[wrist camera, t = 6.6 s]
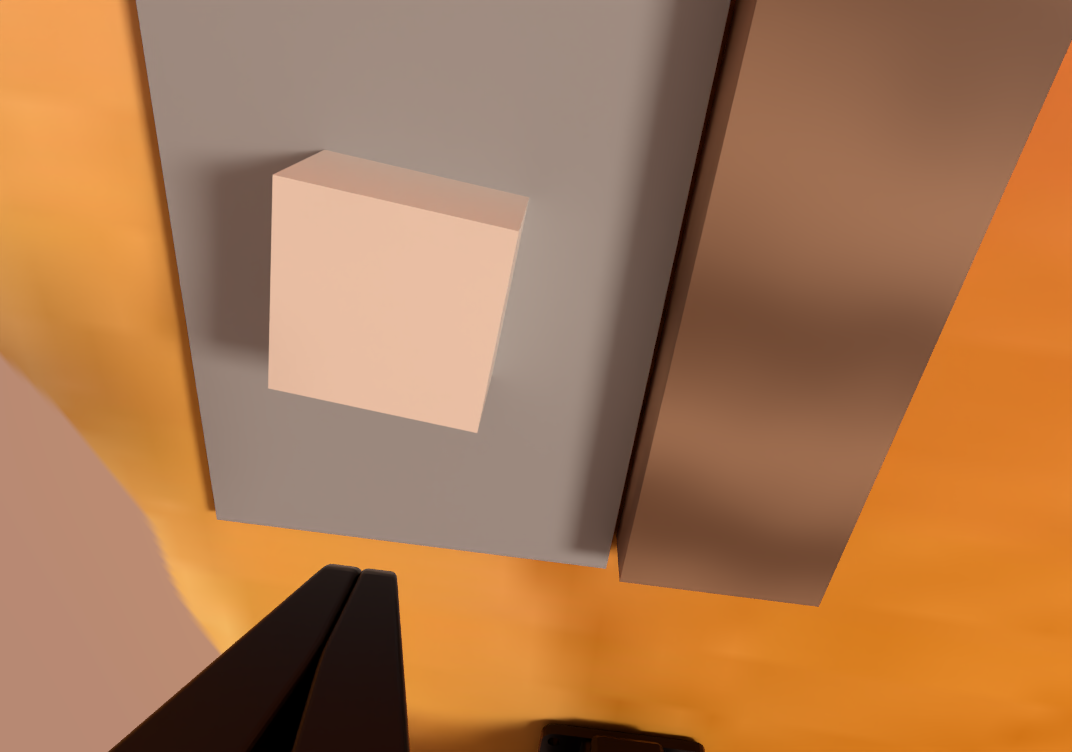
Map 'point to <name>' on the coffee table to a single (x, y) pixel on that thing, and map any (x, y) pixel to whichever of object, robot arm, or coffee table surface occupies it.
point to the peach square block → (389, 287)
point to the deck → (821, 273)
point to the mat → (460, 154)
